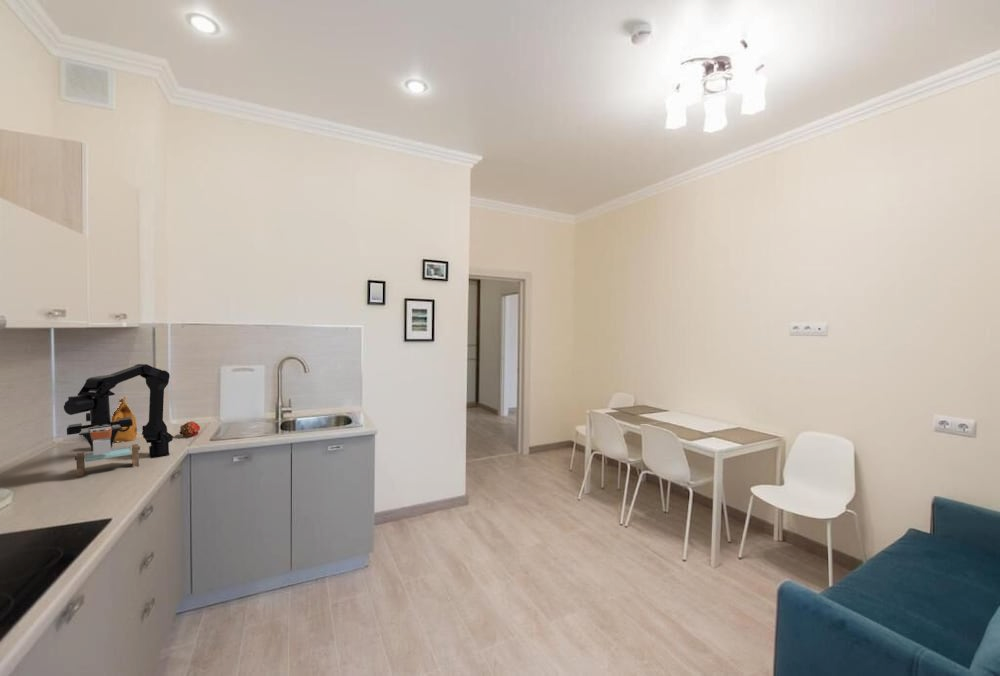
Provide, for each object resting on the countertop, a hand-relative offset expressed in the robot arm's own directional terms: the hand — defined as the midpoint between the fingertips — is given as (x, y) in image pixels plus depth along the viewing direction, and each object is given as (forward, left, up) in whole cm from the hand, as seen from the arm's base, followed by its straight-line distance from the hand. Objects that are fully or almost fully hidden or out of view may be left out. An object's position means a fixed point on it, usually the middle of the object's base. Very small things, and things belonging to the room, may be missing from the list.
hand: (102, 446), depth 165 cm
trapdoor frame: (-2, -7, -12) cm, 14 cm away
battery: (+1, -44, -12) cm, 46 cm away
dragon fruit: (-33, -44, -12) cm, 56 cm away
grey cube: (0, 0, -2) cm, 2 cm away
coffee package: (-7, -58, -12) cm, 60 cm away
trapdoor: (-2, -7, -8) cm, 10 cm away
